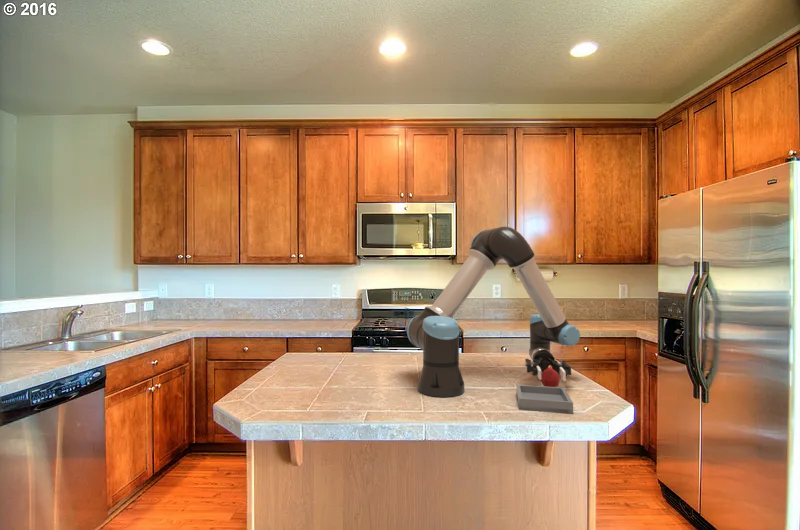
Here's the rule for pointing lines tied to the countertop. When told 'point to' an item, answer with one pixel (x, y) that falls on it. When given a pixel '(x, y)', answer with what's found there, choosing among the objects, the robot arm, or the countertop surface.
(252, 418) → the countertop surface
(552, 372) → the onion
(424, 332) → the robot arm
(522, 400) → the bin
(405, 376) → the countertop surface
